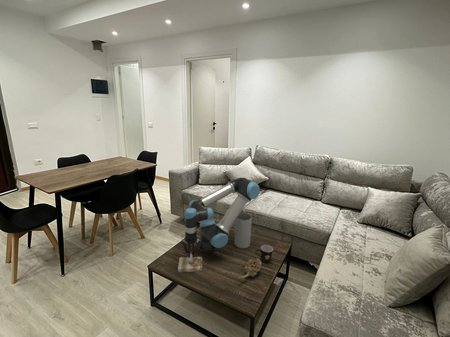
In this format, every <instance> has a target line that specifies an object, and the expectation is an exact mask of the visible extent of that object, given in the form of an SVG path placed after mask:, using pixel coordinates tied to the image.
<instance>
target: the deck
mask: <svg viewBox="0 0 450 337" xmlns="http://www.w3.org/2000/svg"><path fill="white" fill-rule="evenodd" d="M194 261H198V264H197V265H194V264H193V263H194ZM202 271H203V256H194V258H192V262H190V258H189V257H188V256H187V257H186V256H185V257H184V256H183V257H179V260H178V267H177V272H178V273H185V272H187V273H188V272H202Z"/></svg>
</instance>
